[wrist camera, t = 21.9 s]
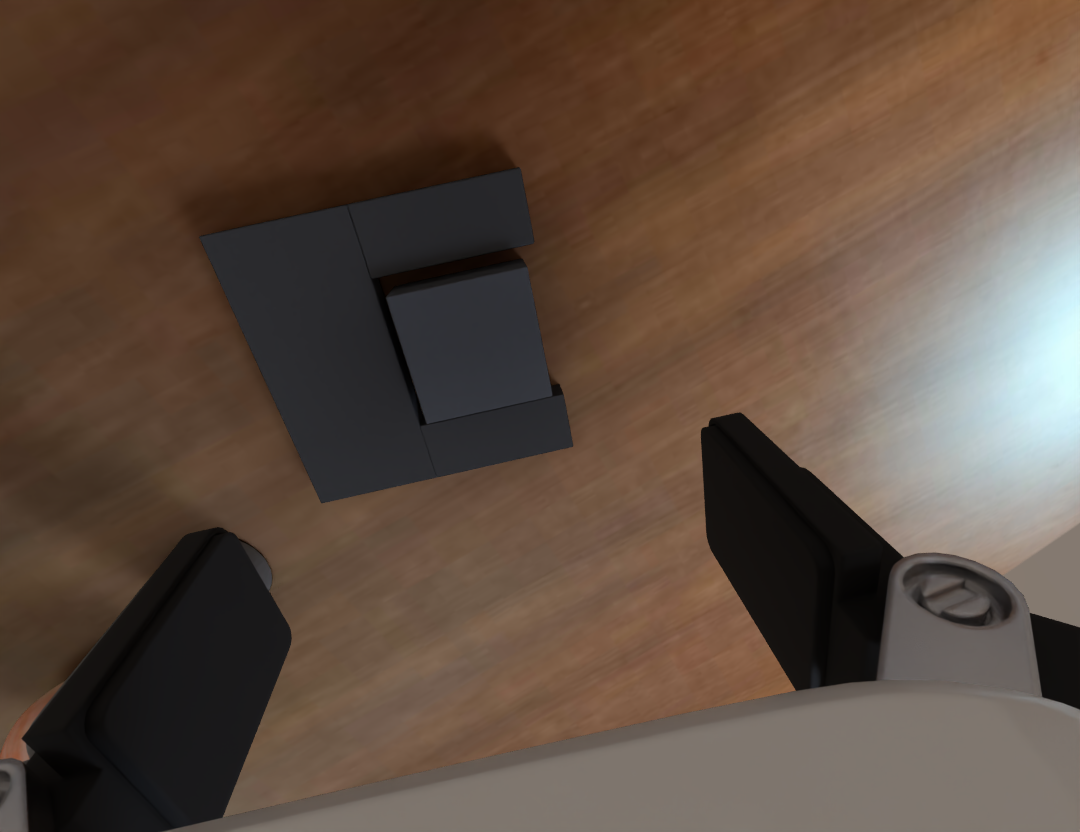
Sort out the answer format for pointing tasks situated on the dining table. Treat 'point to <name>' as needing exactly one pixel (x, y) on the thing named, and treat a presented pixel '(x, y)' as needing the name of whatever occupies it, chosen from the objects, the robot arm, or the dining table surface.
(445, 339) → the grey block
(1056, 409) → the dining table surface
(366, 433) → the dark grey notched block
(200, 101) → the dining table surface
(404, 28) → the dining table surface
